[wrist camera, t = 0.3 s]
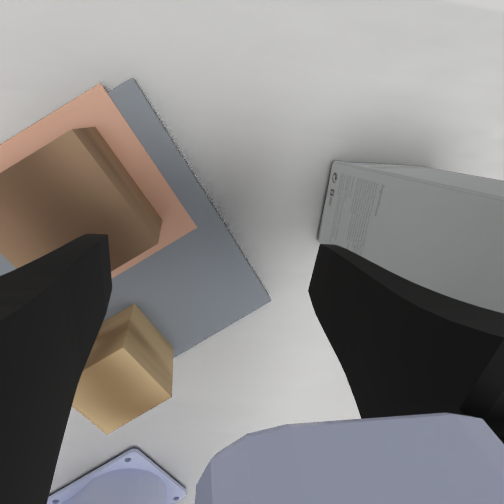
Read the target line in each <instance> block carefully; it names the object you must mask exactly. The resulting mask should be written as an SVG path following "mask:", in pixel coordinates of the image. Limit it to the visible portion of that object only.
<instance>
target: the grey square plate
mask: <svg viewBox="0 0 504 504" xmlns="http://www.w3.org/2000/svg"><path fill="white" fill-rule="evenodd" d="M88 127H96V129H97V130H98V131H99V133H100V134H101V136H102V137H103V138H104V140H105V141H106V143H107V144H108V145H109V147H110V148H111V149H112V151H113V152H114V154H115V155H116V156H117V158H118V159H119V161H120V162H121V163H122V165H123V166H124V168H125V169H126V170H127V172H128V173H129V175H130V176H131V177H132V179H133V180H134V181H135V183H136V184H137V186H138V187H139V188H140V190H141V191H142V193H143V194H144V195H145V197H146V198H147V200H148V201H149V202H150V204H151V205H152V207H153V208H154V209H155V211H156V212H157V213H158V215H159V216H160V218H161V219H162V225H161V230H160V236H159V241H158V244H157V245H155V246H153V247H152V248H150V249H148V250H147V251H145V252H143V253H142V254H140V255H138V256H137V257H135V258H133V259H132V260H130V261H128V262H127V263H125V264H123V265H122V266H120V267H118V268H117V269H115V270H113V271H111V277H112V292H111V296H110V301H109V305H108V309H107V313H106V315H105V318H104V321H105V320H107V319H109V318H110V317H112V316H114V315H115V314H117V313H119V312H120V311H122V310H124V309H126V308H127V307H129V306H131V305H132V304H135V305H136V306H137V307H138V308H139V309H140V311H141V312H142V313H143V314H144V315H145V316H146V317H147V318H148V320H149V321H150V322H151V323H152V324H153V325H154V326H155V328H156V329H157V330H158V331H159V332H160V333H161V334H162V335H163V337H164V338H165V339H166V340H167V341H168V342H169V343H170V345H171V346H172V347H173V358H174V357H176V356H178V355H179V354H181V353H183V352H185V351H186V350H188V349H190V348H191V347H193V346H195V345H197V344H198V343H200V342H202V341H203V340H205V339H207V338H208V337H210V336H212V335H214V334H215V333H217V332H219V331H220V330H222V329H224V328H226V327H227V326H229V325H231V324H232V323H234V322H236V321H238V320H239V319H241V318H243V317H244V316H246V315H248V314H249V313H251V312H253V311H255V310H256V309H258V308H260V307H261V306H263V305H265V304H267V303H268V302H270V301H271V299H270V297H269V295H268V293H267V291H266V290H265V288H264V287H263V285H262V283H261V282H260V280H259V279H258V277H257V275H256V274H255V272H254V271H253V269H252V267H251V266H250V264H249V263H248V261H247V259H246V258H245V256H244V255H243V253H242V251H241V250H240V248H239V247H238V245H237V243H236V242H235V240H234V239H233V237H232V235H231V234H230V232H229V231H228V229H227V227H226V226H225V224H224V223H223V221H222V219H221V218H220V216H219V215H218V213H217V211H216V210H215V208H214V206H213V205H212V203H211V202H210V200H209V198H208V197H207V195H206V194H205V192H204V190H203V189H202V187H201V186H200V184H199V182H198V181H197V179H196V178H195V176H194V174H193V173H192V171H191V170H190V168H189V166H188V165H187V163H186V162H185V160H184V158H183V157H182V155H181V154H180V152H179V150H178V149H177V147H176V146H175V144H174V142H173V141H172V139H171V138H170V136H169V134H168V133H167V131H166V129H165V128H164V126H163V125H162V123H161V121H160V120H159V118H158V117H157V115H156V113H155V112H154V110H153V109H152V107H151V105H150V104H149V102H148V101H147V99H146V97H145V96H144V94H143V93H142V91H141V89H140V88H139V86H138V85H137V83H136V81H135V80H134V79H133V78H131V79H130V80H128V81H126V82H125V83H123V84H121V85H120V86H118V87H116V88H115V89H113V90H112V91H110V92H108V93H107V92H106V90H105V89H104V87H103V86H102V84H101V83H100V84H98V85H97V86H95V87H93V88H92V89H90V90H88V91H87V92H85V93H84V94H82V95H80V96H79V97H77V98H75V99H74V100H72V101H71V102H69V103H67V104H66V105H64V106H62V107H61V108H59V109H58V110H56V111H54V112H53V113H51V114H49V115H48V116H46V117H44V118H43V119H41V120H40V121H38V122H36V123H35V124H33V125H31V126H30V127H28V128H27V129H25V130H23V131H22V132H20V133H18V134H17V135H15V136H14V137H12V138H10V139H9V140H7V141H5V142H4V143H2V144H0V173H1V172H3V171H4V170H6V169H8V168H9V167H11V166H13V165H14V164H16V163H17V162H19V161H21V160H22V159H24V158H26V157H27V156H29V155H31V154H32V153H34V152H35V151H37V150H39V149H40V148H42V147H44V146H45V145H47V144H49V143H50V142H52V141H53V140H55V139H57V138H58V137H60V136H62V135H63V134H65V133H67V132H68V131H70V130H71V129H79V128H88ZM15 269H16V268H15V267H14V266H13V265H12V264H11V263H10V262H9V261H8V260H7V259H6V258H5V257H4V256H3V255H2V254H1V253H0V276H1V275H4V274H6V273H8V272H11V271H13V270H15ZM104 321H103V322H104Z"/></svg>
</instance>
